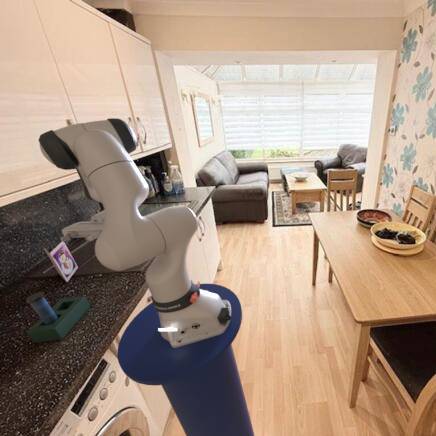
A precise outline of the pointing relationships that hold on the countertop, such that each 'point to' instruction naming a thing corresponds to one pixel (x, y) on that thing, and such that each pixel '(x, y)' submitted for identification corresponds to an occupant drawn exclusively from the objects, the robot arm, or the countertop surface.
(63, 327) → the holder
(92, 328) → the countertop surface
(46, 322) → the handle
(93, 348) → the countertop surface
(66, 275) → the greeting card
